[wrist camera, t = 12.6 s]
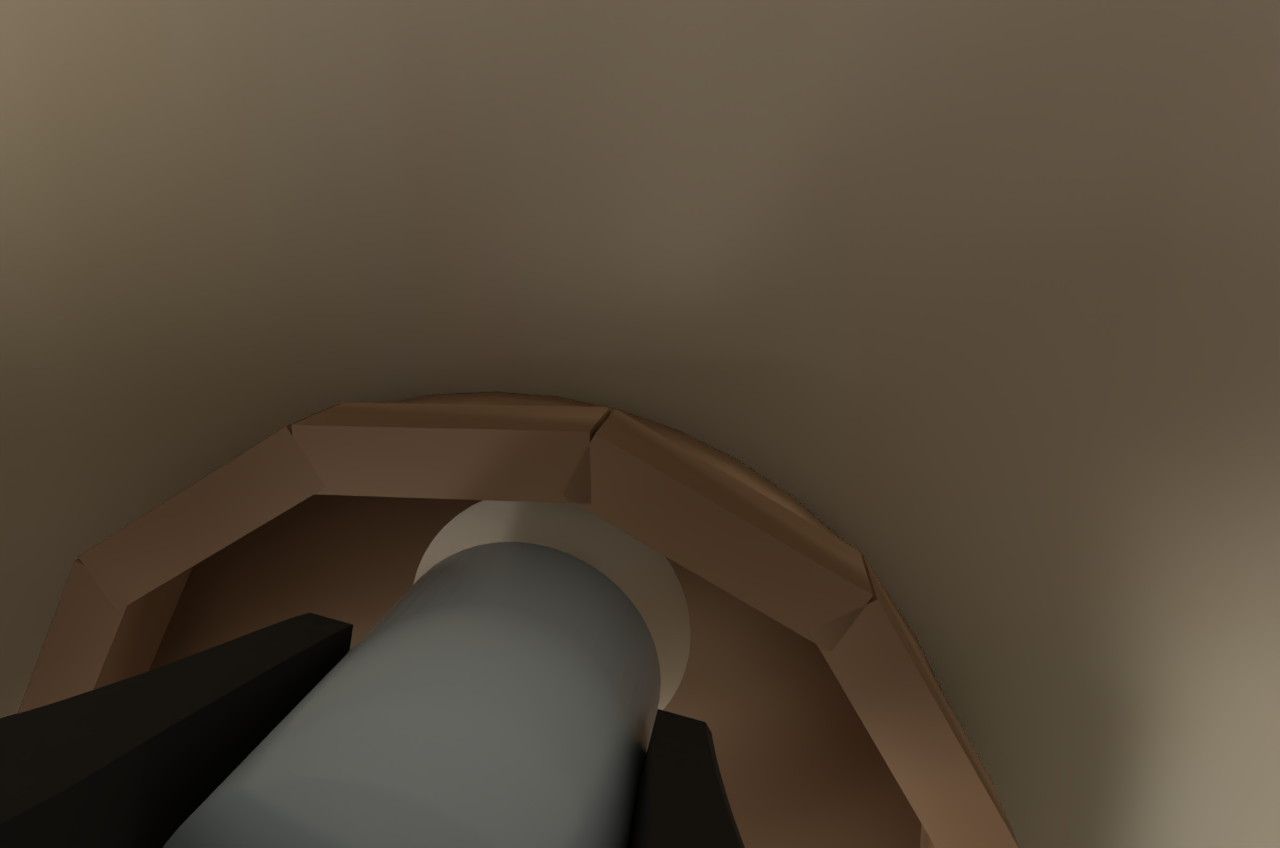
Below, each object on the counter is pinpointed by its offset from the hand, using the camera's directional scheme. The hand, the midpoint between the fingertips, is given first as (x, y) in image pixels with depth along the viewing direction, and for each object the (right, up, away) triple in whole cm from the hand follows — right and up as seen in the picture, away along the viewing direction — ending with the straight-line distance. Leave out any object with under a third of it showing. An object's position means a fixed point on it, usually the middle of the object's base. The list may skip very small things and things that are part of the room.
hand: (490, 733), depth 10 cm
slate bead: (0, 0, +1) cm, 2 cm away
